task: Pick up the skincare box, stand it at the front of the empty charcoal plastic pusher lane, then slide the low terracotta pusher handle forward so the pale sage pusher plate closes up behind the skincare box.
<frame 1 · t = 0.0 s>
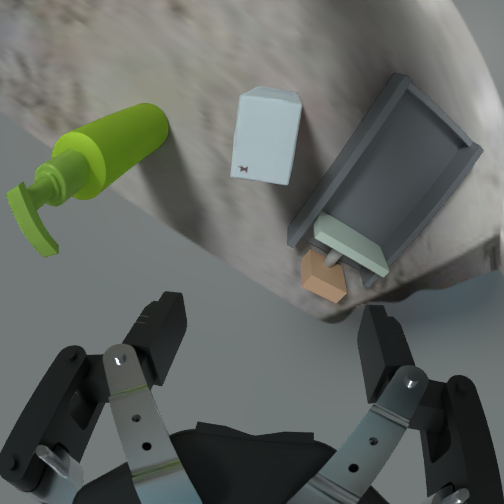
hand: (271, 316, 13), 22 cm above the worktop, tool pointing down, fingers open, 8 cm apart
skincare box: (274, 114, 28), on the worktop
soap dispenser: (147, 130, 31), on the worktop
pusher: (335, 261, 34), point 3 cm above the worktop, slide at 0.0 cm
pusher lane: (382, 182, 31), on the worktop
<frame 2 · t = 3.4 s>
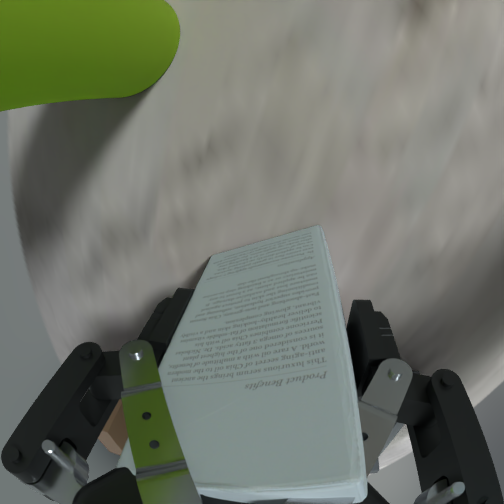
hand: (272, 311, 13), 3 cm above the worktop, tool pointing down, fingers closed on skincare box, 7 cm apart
skincare box: (278, 270, 16), on the worktop, touching gripper
soap dispenser: (122, 52, 11), on the worktop
pusher: (144, 427, 20), point 3 cm above the worktop, slide at 0.0 cm
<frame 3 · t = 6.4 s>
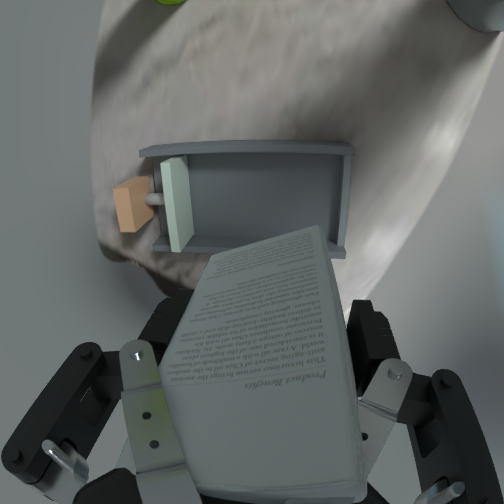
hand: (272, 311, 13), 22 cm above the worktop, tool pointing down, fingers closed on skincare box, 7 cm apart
skincare box: (278, 270, 16), point 18 cm above the worktop, touching gripper
pusher: (153, 202, 32), point 3 cm above the worktop, slide at 0.0 cm
pusher lane: (247, 192, 33), on the worktop
when the fingers open (5 cm above the worktop, at t = 9.5 s): skincare box stays where it is, resting on pusher lane.
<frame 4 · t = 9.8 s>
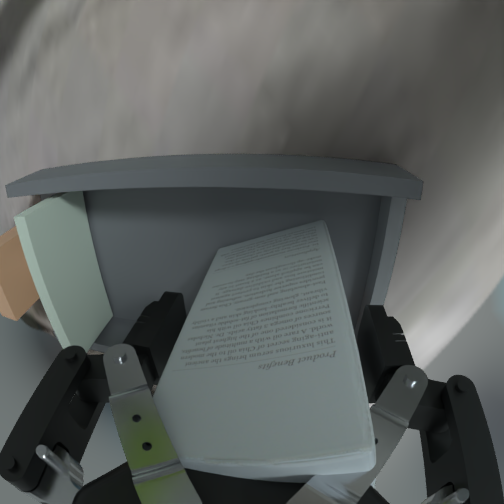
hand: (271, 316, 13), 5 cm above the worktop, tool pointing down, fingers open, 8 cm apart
skincare box: (282, 264, 17), resting on pusher lane
pusher: (38, 272, 16), point 3 cm above the worktop, slide at 0.0 cm
pusher lane: (192, 256, 18), on the worktop
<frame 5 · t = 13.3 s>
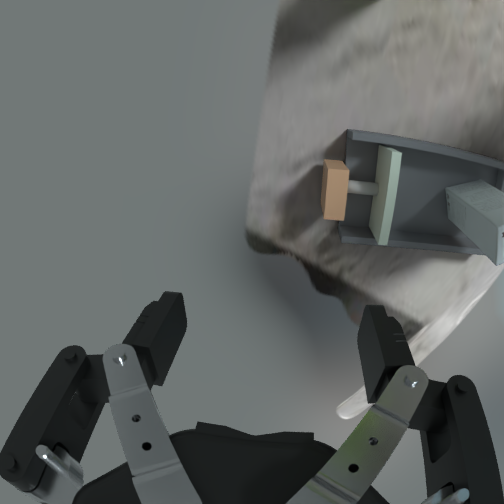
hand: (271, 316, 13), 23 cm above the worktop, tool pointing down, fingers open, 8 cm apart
skincare box: (464, 198, 30), resting on pusher lane
pusher: (357, 190, 29), point 3 cm above the worktop, slide at 0.0 cm
pusher lane: (429, 191, 31), on the worktop
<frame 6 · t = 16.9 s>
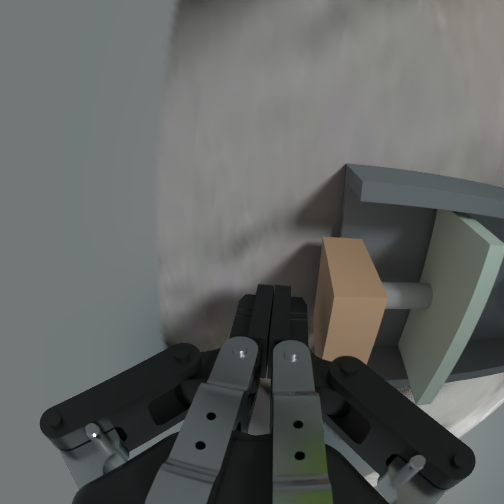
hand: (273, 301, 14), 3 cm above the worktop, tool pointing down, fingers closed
pusher: (391, 310, 13), point 3 cm above the worktop, slide at 1.5 cm, touching gripper
pusher lane: (486, 276, 15), on the worktop
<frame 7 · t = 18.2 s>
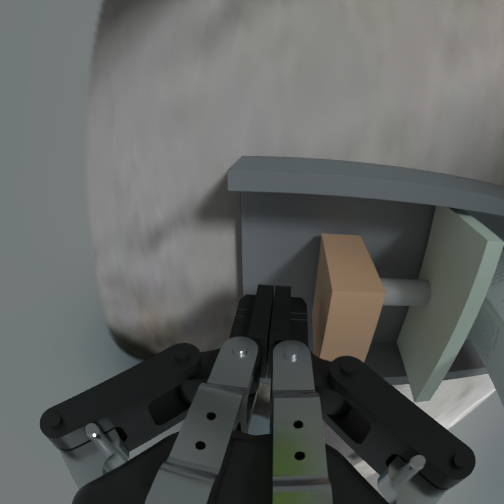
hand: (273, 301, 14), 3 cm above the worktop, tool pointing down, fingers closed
skincare box: (490, 276, 15), resting on pusher lane
pusher: (389, 306, 13), point 3 cm above the worktop, slide at 6.5 cm, touching gripper
pusher lane: (426, 272, 16), on the worktop
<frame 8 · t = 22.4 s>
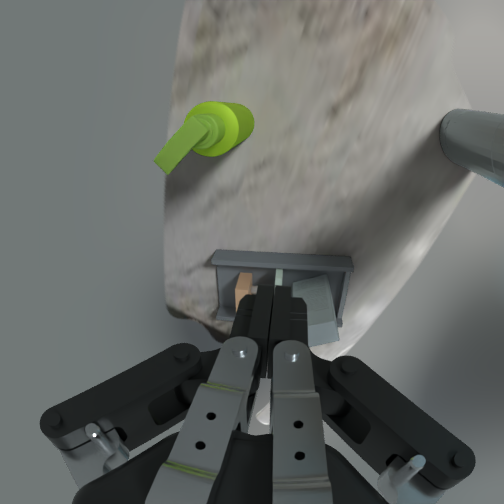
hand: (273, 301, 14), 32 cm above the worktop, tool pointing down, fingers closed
skincare box: (312, 286, 50), resting on pusher lane
soap dispenser: (231, 125, 40), on the worktop
pusher: (259, 294, 48), point 3 cm above the worktop, slide at 6.6 cm
pusher lane: (281, 284, 51), on the worktop
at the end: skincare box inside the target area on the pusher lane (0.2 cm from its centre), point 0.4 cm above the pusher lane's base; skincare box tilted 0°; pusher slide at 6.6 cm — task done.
